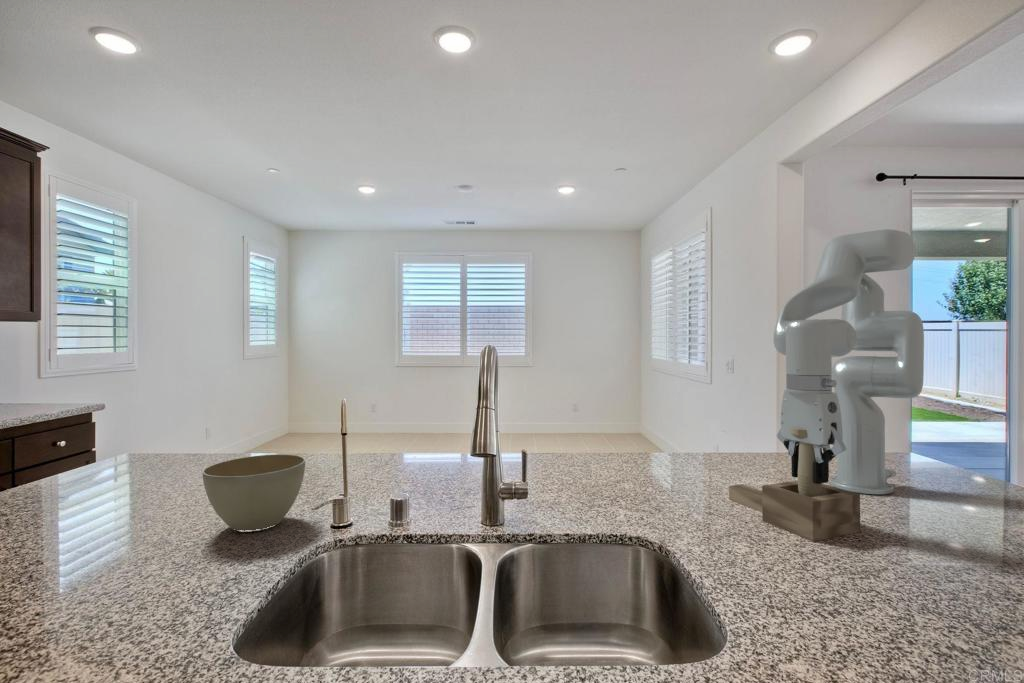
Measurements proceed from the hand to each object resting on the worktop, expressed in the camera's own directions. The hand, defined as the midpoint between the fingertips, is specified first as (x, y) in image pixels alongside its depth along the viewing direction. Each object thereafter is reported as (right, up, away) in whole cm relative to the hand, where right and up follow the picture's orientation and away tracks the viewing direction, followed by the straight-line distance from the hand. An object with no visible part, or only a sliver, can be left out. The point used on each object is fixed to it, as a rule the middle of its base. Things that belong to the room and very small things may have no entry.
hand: (809, 478), depth 96 cm
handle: (0, -5, 0) cm, 5 cm away
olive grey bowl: (-108, -10, +3) cm, 108 cm away
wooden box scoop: (-2, -9, +6) cm, 11 cm away
